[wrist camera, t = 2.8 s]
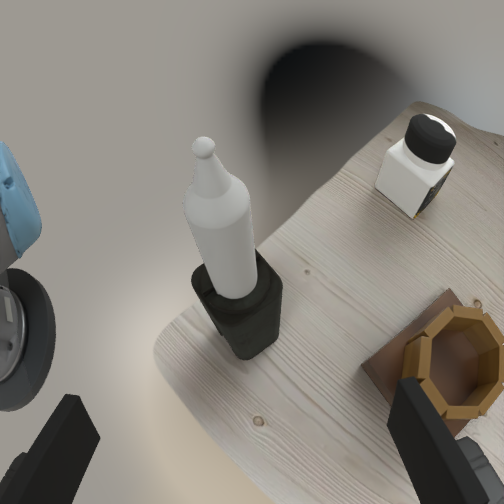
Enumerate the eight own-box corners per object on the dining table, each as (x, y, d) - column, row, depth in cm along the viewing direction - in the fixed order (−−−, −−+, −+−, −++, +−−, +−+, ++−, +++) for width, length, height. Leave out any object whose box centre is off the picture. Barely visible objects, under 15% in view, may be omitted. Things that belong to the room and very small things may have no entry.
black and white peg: (214, 326, 33) (114, 140, 11) (253, 298, 34) (223, 85, 12) (242, 364, 31) (170, 224, 9) (283, 335, 32) (306, 145, 10)
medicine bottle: (412, 221, 38) (448, 157, 27) (372, 187, 41) (396, 118, 30) (437, 195, 40) (470, 134, 29) (400, 164, 43) (423, 101, 32)
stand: (424, 454, 24) (455, 459, 19) (360, 364, 30) (380, 352, 24) (496, 376, 27) (530, 364, 21) (440, 295, 33) (466, 271, 27)
